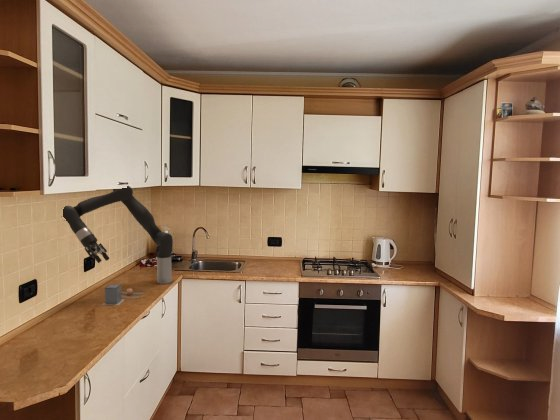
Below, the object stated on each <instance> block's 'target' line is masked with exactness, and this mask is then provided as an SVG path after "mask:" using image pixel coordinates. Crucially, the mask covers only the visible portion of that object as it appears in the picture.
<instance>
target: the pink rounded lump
mask: <svg viewBox="0 0 560 420" xmlns="http://www.w3.org/2000/svg"><path fill="white" fill-rule="evenodd" d="M126 291H127V295H128V296H129V295H133V291H134V290H133V288H127V289H126Z"/></svg>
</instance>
